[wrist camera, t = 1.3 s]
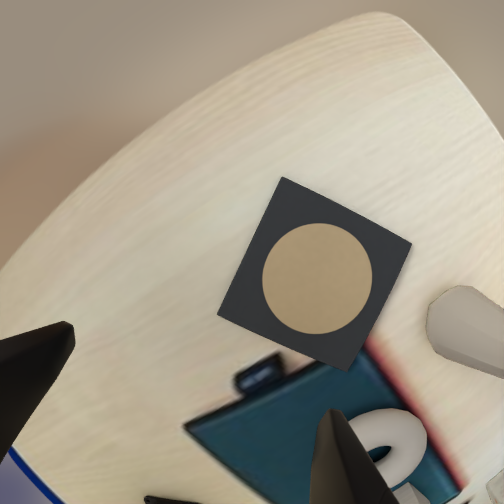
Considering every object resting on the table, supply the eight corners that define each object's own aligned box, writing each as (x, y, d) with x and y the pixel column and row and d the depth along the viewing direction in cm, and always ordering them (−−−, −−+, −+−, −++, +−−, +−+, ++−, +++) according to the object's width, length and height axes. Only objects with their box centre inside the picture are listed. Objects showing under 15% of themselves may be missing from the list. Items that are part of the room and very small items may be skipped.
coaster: (345, 370, 23) (347, 372, 22) (217, 313, 23) (216, 315, 22) (410, 243, 22) (412, 243, 21) (281, 177, 22) (281, 176, 22)
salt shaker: (405, 309, 22) (509, 373, 9) (455, 267, 21) (573, 291, 8) (432, 361, 22) (521, 439, 9) (478, 320, 21) (580, 368, 9)
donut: (433, 434, 22) (386, 380, 22) (448, 453, 19) (401, 400, 19) (353, 491, 23) (294, 448, 23) (360, 513, 20) (296, 474, 20)
